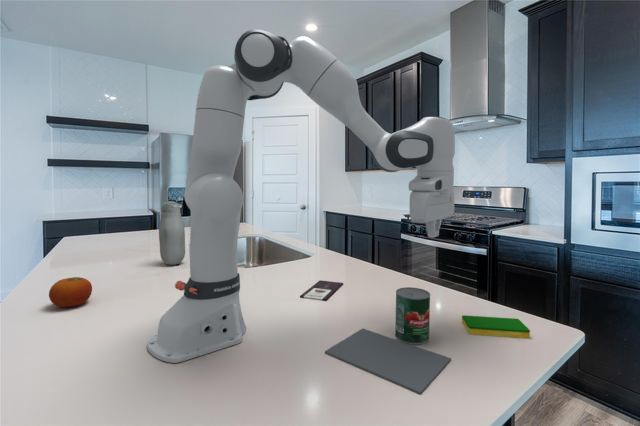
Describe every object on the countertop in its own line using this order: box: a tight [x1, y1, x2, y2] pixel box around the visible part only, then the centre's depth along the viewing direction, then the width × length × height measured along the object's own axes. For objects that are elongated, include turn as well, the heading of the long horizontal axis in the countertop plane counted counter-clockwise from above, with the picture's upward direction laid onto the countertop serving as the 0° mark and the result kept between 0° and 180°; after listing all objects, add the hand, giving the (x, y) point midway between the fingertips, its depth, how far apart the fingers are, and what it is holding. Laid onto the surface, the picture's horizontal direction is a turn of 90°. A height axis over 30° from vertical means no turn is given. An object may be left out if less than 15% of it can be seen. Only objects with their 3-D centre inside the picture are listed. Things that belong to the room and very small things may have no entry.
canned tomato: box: [394, 286, 431, 346], centre depth 81 cm, size 8×8×11 cm
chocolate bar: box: [299, 279, 344, 302], centre depth 116 cm, size 9×1×18 cm
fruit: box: [48, 276, 93, 308], centre depth 102 cm, size 11×10×8 cm
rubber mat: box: [324, 328, 452, 395], centre depth 73 cm, size 15×22×1 cm
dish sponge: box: [461, 315, 531, 339], centre depth 86 cm, size 7×14×2 cm, turn 81°
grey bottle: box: [158, 200, 186, 266], centre depth 149 cm, size 10×10×28 cm
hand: (433, 236), depth 88 cm, fingers closed
